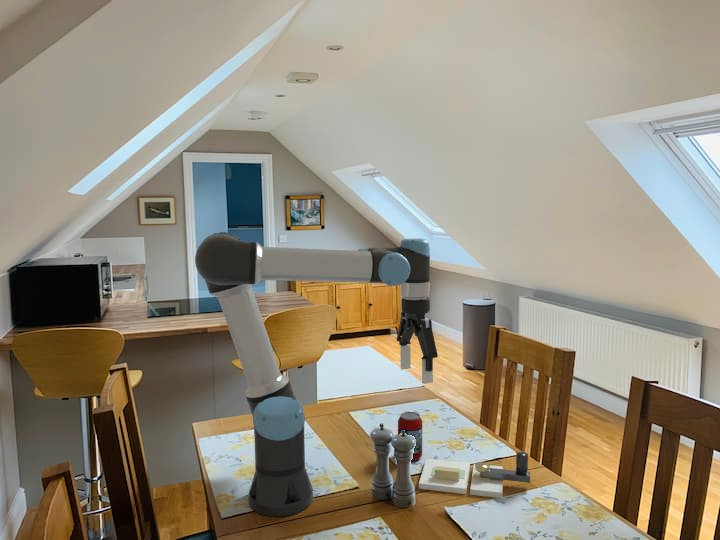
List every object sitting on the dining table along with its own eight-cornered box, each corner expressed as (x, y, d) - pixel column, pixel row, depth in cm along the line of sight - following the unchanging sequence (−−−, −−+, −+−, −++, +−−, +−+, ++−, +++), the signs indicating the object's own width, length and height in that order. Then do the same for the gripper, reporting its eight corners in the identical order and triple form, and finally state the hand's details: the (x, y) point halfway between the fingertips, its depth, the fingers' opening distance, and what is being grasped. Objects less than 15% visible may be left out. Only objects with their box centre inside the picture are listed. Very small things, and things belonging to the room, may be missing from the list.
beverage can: (402, 463, 155) (402, 421, 154) (394, 453, 162) (394, 412, 160) (426, 460, 157) (426, 418, 156) (417, 450, 164) (417, 409, 162)
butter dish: (466, 494, 139) (466, 479, 139) (418, 488, 142) (418, 473, 142) (469, 468, 153) (470, 454, 152) (426, 463, 155) (426, 450, 155)
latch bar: (474, 477, 144) (475, 452, 143) (475, 471, 147) (475, 446, 146) (530, 483, 140) (530, 458, 139) (529, 477, 144) (530, 451, 143)
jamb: (502, 498, 137) (502, 491, 137) (470, 494, 139) (470, 487, 139) (502, 471, 151) (503, 465, 150) (473, 468, 152) (473, 462, 152)
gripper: (451, 303, 142) (451, 387, 144) (408, 289, 165) (409, 361, 168) (423, 306, 139) (424, 391, 142) (384, 291, 162) (385, 364, 165)
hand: (416, 375), depth 155 cm, fingers open, 13 cm apart
